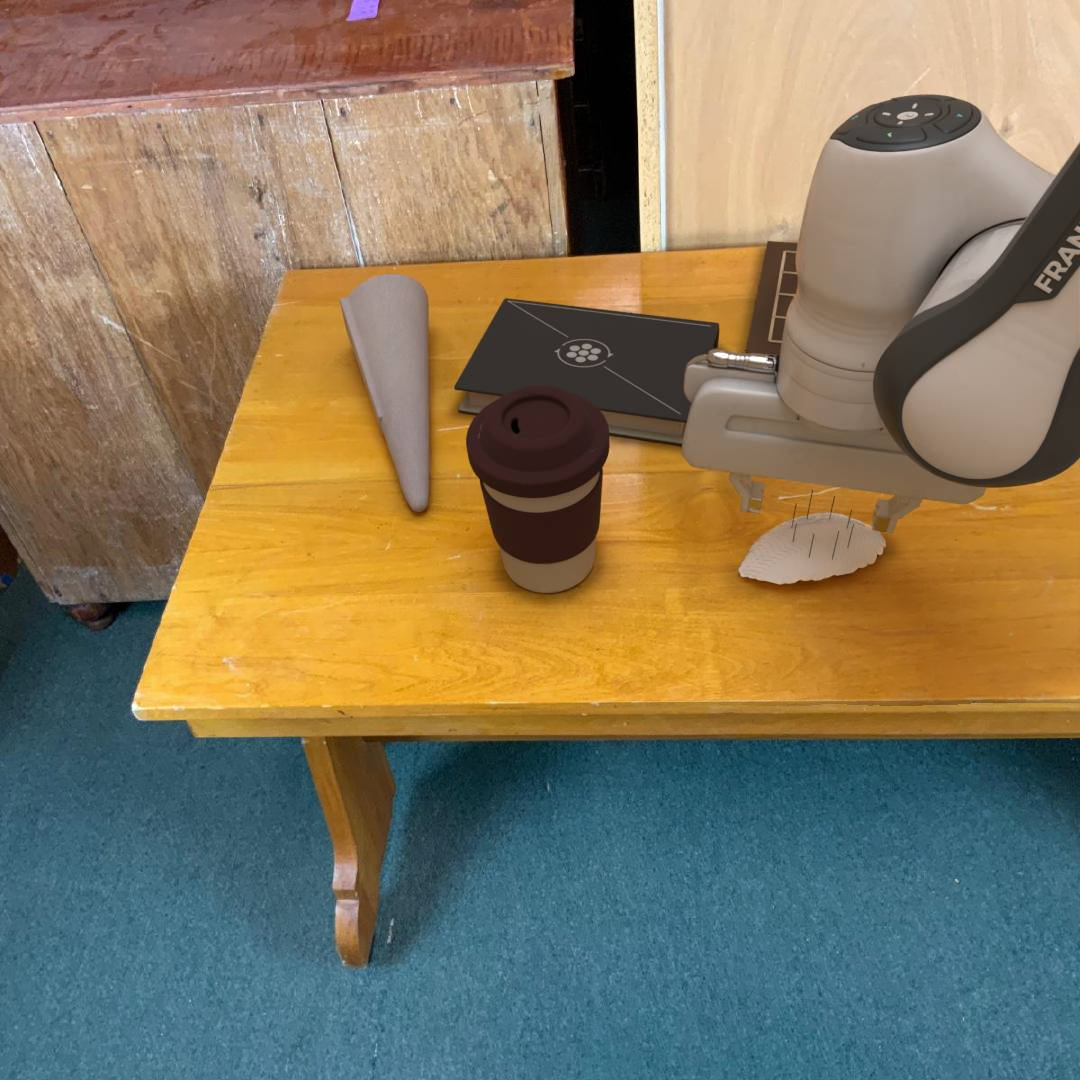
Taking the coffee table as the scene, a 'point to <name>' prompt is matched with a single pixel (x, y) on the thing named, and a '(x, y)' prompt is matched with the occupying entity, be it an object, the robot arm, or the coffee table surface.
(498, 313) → the book
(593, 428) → the coffee cup
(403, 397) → the grey tapered cone
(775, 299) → the board
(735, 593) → the coffee table surface
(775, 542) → the pincushion
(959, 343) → the robot arm
